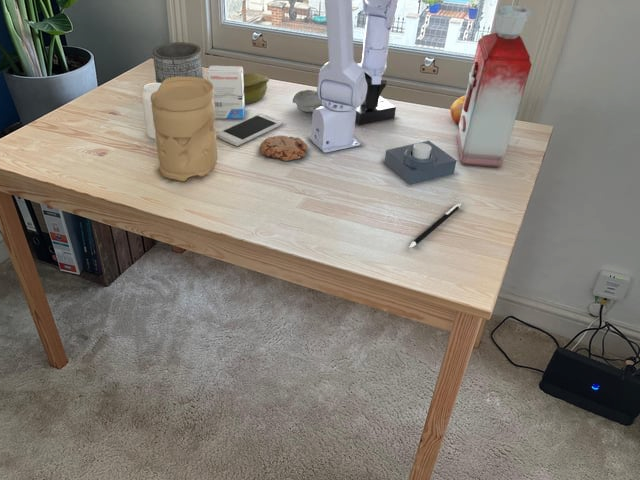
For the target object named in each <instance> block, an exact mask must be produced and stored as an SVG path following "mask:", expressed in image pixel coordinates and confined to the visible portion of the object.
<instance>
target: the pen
mask: <svg viewBox="0 0 640 480" xmlns="http://www.w3.org/2000/svg"><path fill="white" fill-rule="evenodd" d="M461 206H462V203H456V204H455V205H454V206H452V207H451V208H450V209H449V210H448V211H446V212H445V213H444V214H443V215H442V216H441V217H440V218H438V219H437V220H436V221H434V223H433V224H431V225H430V226H429V227H428V228H427V229H426V230H425V231H423V232H422V233H421V234H419V235H418V236H417V237H416V238H415V239H413V240H412V242H411V243H410V245H409V246H408V249H411V248H413V247H415V246H417V245H418V244H419V243H420V242H422V241H423V240H424V239H425V238H427V237H428V236H429V235H430V234H431V233H432V232H434V231H435V229H437V228H438V227H439V226H440V225H442V224H443V223H444V222H445V221H446V220H448V219H449V218H450V217H451V216H452V215H453V214H454V213H456V212H457V211H458V210H459V209H460V207H461Z"/></svg>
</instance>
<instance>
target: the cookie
mask: <svg viewBox="0 0 640 480" xmlns="http://www.w3.org/2000/svg"><path fill="white" fill-rule="evenodd" d="M307 151H308V144H307V143H306V142H305V141H304V140H303V139H301V138H300V137H295V136H287V135H274V136H269V137H267V138H265V139H264V140H263V141H262V142H260V146H259V152H260V154H261V155H262V156H266V157H268V158H271V159H274V158H275V159H276V158H277V159H279V160H281V161H285V162H289V161H292V160H298V159H302V158H305V155H306V153H307Z"/></svg>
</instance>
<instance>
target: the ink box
mask: <svg viewBox="0 0 640 480" xmlns="http://www.w3.org/2000/svg"><path fill="white" fill-rule="evenodd" d="M243 74H244V67H243V66H241V65H240V66H236V65H209V66H208V68H207V70H206V75H205V76H206V80H208V81H210V82H211V83H212V85H213V91H214V96H213V101H214V106H215V119H231V120H232V119H234V120H239V119H240V120H243V119H244V117H245V112H246V109H245V108H246V106H245V105H246V103H244V80H243Z"/></svg>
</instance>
